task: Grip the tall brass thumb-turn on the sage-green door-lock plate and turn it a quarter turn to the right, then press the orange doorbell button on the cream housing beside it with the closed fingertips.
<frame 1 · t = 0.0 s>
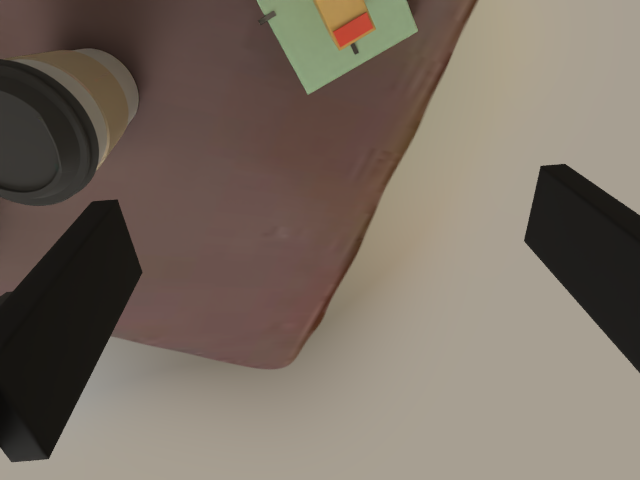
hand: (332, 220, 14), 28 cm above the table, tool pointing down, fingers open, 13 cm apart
coffee cup: (99, 90, 38), on the table
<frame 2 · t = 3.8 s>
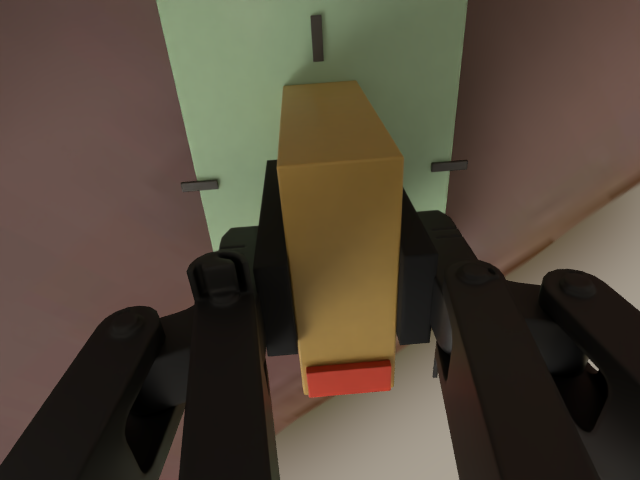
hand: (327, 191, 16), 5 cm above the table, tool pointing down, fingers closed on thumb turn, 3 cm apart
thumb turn: (333, 223, 14), point 7 cm above the table, hinge at 0.0°, touching gripper
lock plate: (320, 148, 19), on the table
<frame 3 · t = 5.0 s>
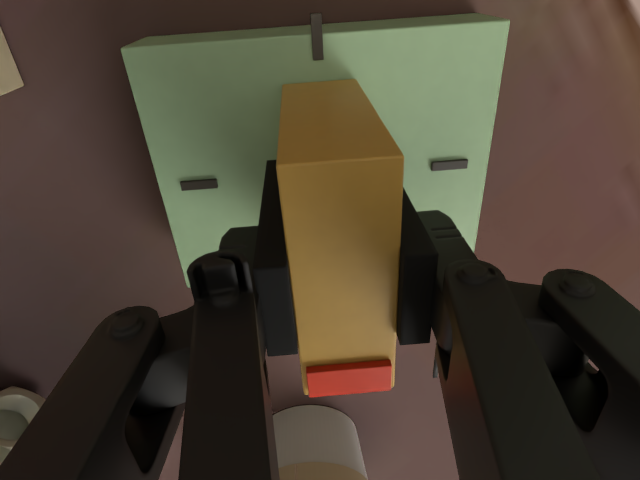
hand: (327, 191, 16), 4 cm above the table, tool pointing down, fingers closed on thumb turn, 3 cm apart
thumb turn: (333, 223, 14), point 7 cm above the table, hinge at -89.9°, touching gripper
coffee cup: (308, 433, 31), on the table
lock plate: (320, 147, 19), on the table
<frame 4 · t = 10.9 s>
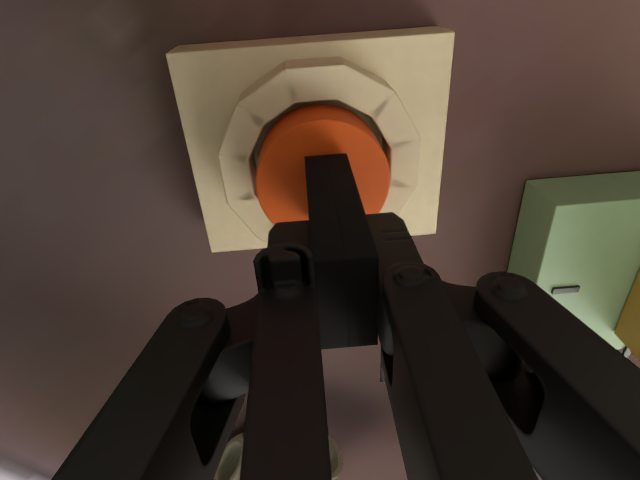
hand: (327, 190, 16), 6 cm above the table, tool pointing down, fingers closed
bell button: (321, 175, 17), point 4 cm above the table, slide at -0.2 cm, touching gripper
doorbell: (315, 139, 20), on the table
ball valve: (275, 447, 33), on the table
lock plate: (619, 249, 25), on the table
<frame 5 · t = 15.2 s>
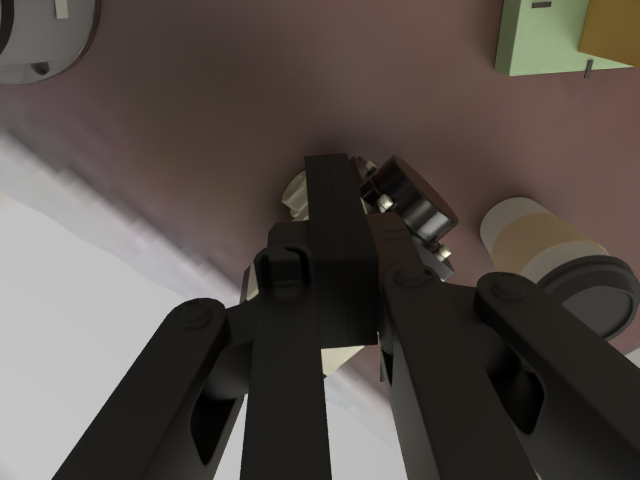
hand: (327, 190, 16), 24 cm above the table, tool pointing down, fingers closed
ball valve: (324, 198, 43), on the table
coffee cup: (510, 224, 46), on the table
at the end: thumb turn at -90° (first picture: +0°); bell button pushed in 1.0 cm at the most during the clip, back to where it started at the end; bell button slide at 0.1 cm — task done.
